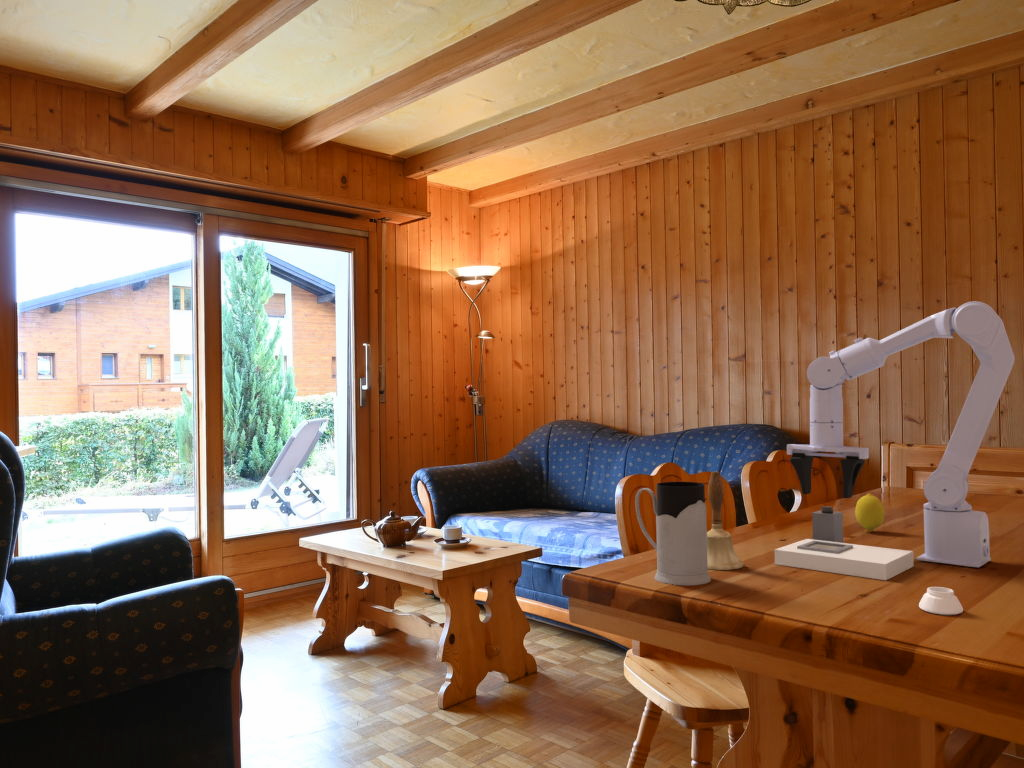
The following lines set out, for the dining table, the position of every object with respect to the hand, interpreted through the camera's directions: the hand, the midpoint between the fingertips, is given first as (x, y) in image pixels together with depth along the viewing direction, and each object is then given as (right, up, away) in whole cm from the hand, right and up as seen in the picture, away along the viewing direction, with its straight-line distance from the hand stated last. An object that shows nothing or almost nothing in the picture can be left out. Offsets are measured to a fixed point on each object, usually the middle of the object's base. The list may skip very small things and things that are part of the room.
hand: (826, 495), depth 142 cm
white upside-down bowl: (-2, -10, -41) cm, 42 cm away
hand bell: (-23, -11, -11) cm, 28 cm away
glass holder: (-33, -11, -18) cm, 39 cm away
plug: (0, -10, 0) cm, 10 cm away
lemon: (+16, -10, +18) cm, 26 cm away
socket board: (-3, -10, -13) cm, 16 cm away
